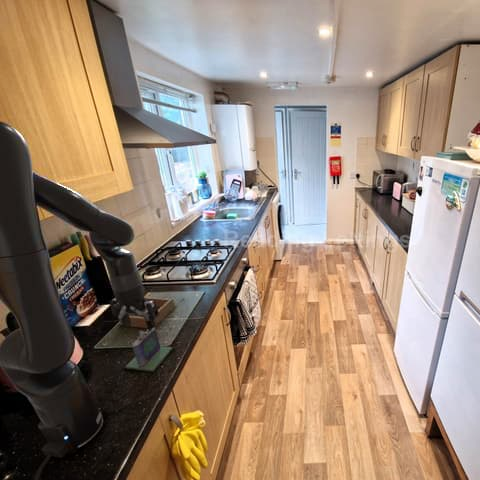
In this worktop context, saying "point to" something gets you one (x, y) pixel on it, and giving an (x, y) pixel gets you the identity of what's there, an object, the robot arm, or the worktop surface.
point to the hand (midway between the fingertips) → (140, 327)
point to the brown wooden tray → (165, 308)
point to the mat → (152, 362)
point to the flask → (146, 346)
